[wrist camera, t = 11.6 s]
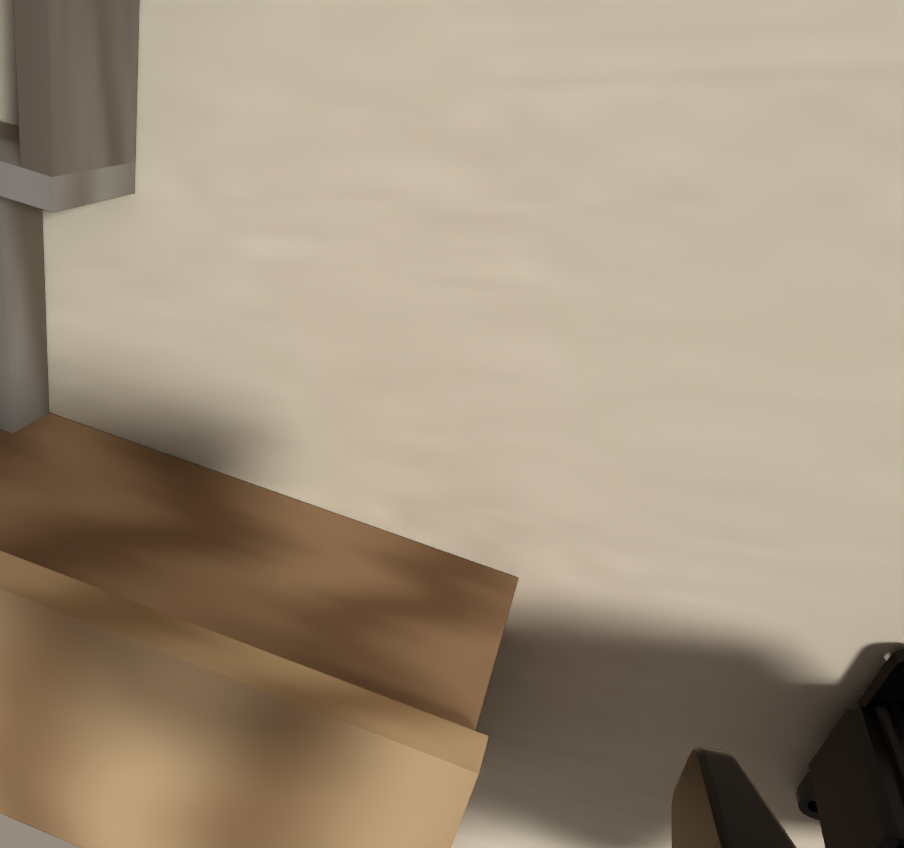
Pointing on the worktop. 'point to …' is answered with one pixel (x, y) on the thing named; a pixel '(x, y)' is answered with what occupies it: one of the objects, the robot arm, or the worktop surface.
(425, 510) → the worktop surface
